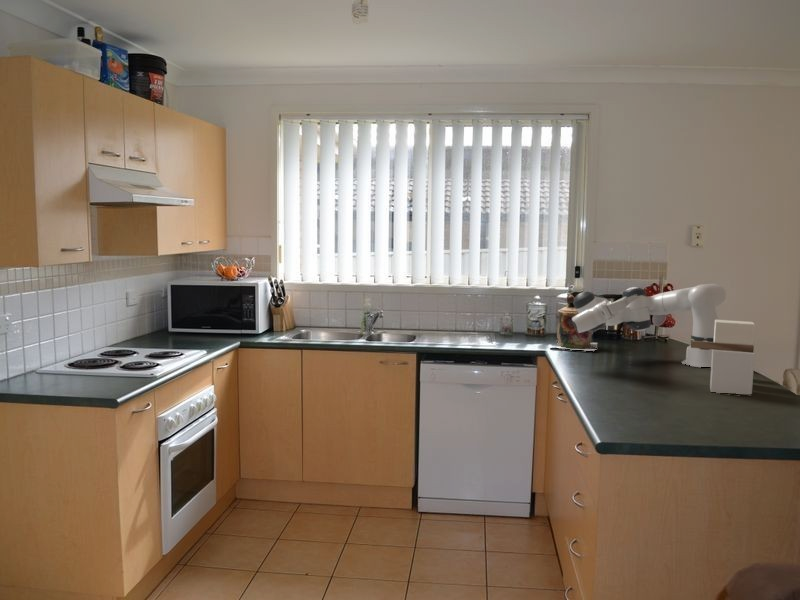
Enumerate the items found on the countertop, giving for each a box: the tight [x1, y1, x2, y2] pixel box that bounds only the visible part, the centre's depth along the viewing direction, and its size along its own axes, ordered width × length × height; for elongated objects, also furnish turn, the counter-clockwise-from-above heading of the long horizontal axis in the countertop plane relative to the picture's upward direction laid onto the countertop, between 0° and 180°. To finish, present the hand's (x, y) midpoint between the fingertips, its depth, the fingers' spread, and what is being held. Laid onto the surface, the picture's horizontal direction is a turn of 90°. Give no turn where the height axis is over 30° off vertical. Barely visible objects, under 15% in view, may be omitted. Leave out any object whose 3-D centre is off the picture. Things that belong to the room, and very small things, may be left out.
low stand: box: [709, 349, 756, 394], centre depth 254 cm, size 10×14×16 cm
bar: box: [690, 339, 755, 352], centre depth 255 cm, size 3×22×2 cm, turn 67°
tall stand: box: [713, 319, 756, 346], centre depth 268 cm, size 10×14×26 cm
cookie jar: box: [552, 289, 598, 352], centre depth 353 cm, size 25×25×32 cm
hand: (636, 296), depth 281 cm, fingers open, 8 cm apart
